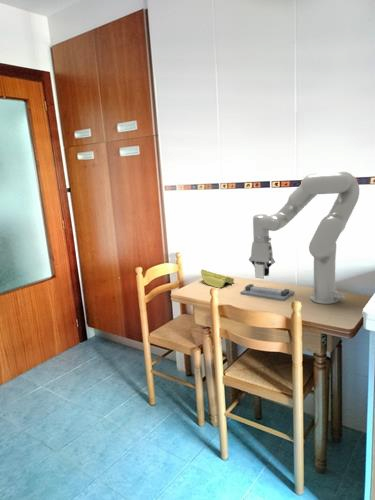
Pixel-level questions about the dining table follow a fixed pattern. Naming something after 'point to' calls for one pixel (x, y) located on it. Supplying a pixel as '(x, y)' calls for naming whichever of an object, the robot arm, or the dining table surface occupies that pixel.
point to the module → (260, 270)
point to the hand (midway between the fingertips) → (262, 274)
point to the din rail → (267, 290)
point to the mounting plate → (267, 295)
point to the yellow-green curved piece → (215, 279)
